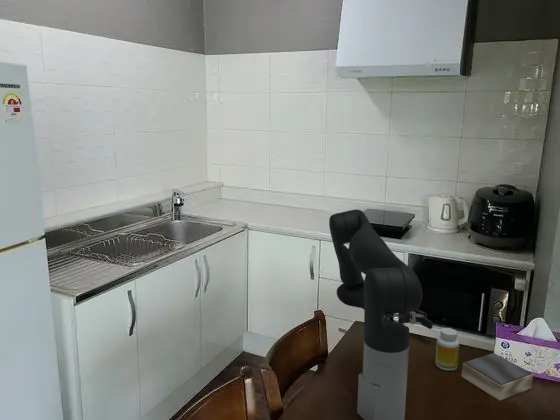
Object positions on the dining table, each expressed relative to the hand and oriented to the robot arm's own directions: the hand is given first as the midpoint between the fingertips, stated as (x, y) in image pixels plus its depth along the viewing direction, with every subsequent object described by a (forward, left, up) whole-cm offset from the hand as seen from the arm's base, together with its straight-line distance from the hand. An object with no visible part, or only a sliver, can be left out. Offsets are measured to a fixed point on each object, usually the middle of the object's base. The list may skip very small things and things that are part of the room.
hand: (420, 328), depth 126 cm
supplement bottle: (0, -10, -6) cm, 12 cm away
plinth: (+5, -21, -6) cm, 22 cm away
